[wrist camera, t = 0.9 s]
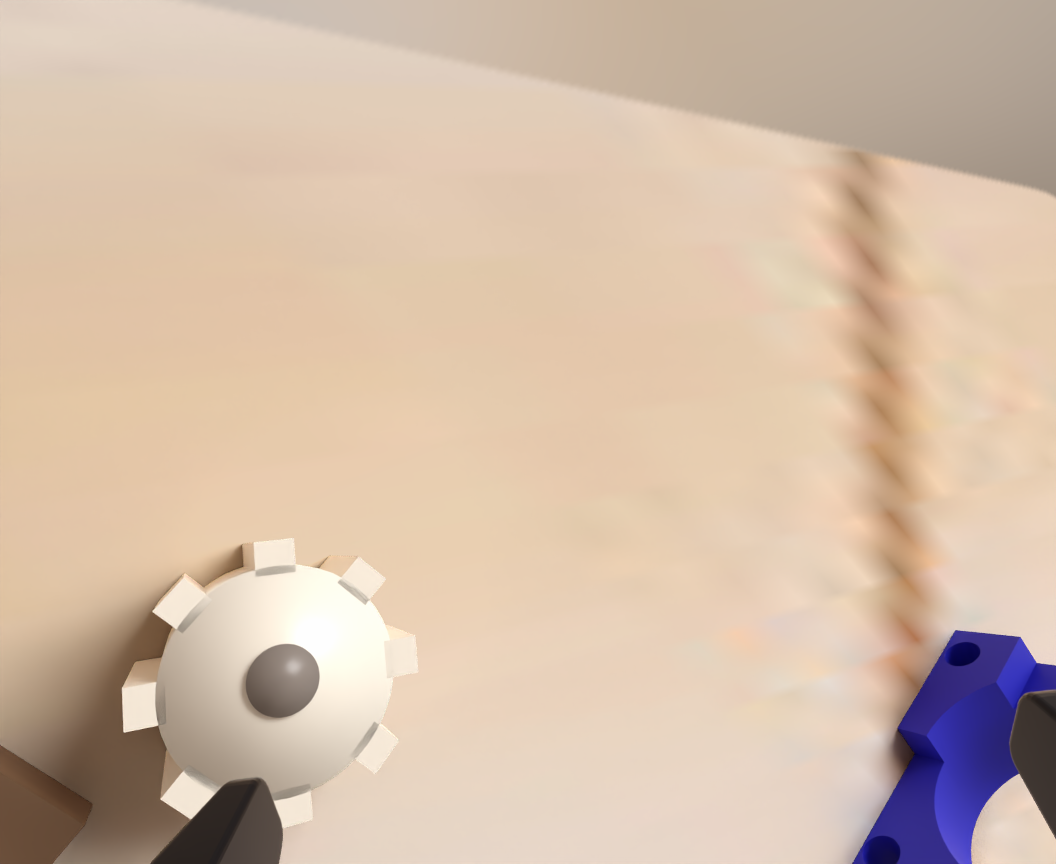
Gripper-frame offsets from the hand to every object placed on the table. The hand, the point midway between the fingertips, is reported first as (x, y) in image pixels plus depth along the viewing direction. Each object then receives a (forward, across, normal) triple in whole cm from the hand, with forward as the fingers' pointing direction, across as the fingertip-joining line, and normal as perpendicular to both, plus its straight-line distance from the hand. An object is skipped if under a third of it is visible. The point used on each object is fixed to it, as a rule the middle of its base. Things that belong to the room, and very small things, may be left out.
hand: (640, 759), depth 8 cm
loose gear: (+10, +9, +6) cm, 14 cm away
